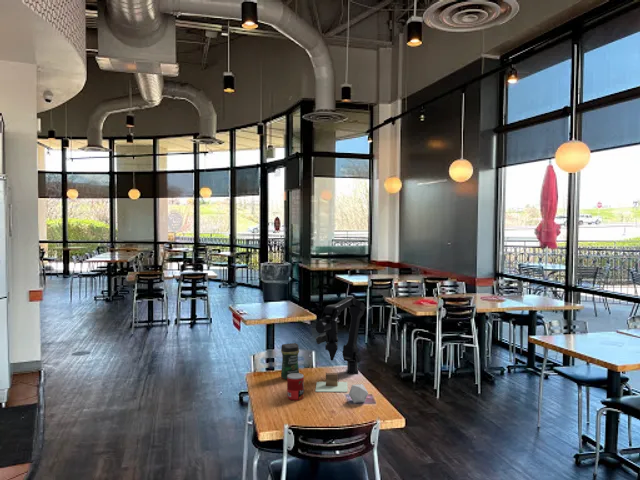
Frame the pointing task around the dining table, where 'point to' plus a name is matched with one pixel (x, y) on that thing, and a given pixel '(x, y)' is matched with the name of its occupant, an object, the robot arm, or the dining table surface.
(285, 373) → the coffee jar
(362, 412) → the dining table surface
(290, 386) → the canned food
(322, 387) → the mat
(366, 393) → the die
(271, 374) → the dining table surface
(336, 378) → the walnut slab
